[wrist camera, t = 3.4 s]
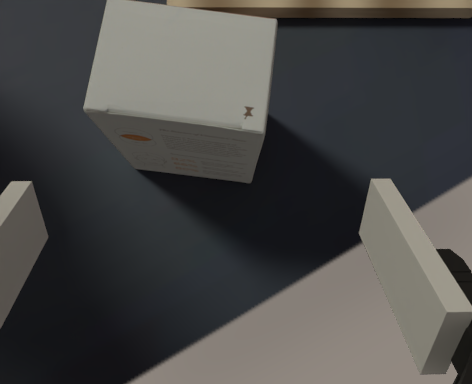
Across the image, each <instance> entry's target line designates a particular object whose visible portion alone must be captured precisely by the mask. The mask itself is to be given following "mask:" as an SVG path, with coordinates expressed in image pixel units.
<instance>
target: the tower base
mask: <svg viewBox="0 0 472 384" xmlns="http://www.w3.org/2000/svg"><path fill="white" fill-rule="evenodd" d="M167 5H170V6H178V7H187V8H194V9H202V10H209V11H218V12H226V13H234V14H242V15H250V16H258V17H265V18H471V17H472V0H167Z"/></svg>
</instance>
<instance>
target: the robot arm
mask: <svg viewBox="0 0 472 384" xmlns="http://www.w3.org/2000/svg"><path fill="white" fill-rule="evenodd" d="M359 235H360V237H361V240H362V242H363V244H364V246H365V249H366V251H367V253H368V256H369V258H370V260H371V262H372V265H373V267H374V269H375V272H376V274H377V276H378V279H379V281H380V283H381V285H382V288H383V290H384V292H385V295H386V297H387V299H388V301H389V304H390V306H391V308H392V311H393V313H394V315H395V317H396V320H397V322H398V324H399V327H400V329H401V331H402V333H403V336H404V338H405V341H406V343H407V345H408V348H409V350H410V352H411V354H412V357H413V359H414V361H415V364H416V366H417V368H418V370H419V373H420V374H421V375H424V374H446V372H447V370H448V368H449V366H450V364H451V361H452V363H453V365H454V367H455V369H456V371H457V373H458V375H457V377H456V379H455V381H454V383H453V384H472V273H471V270H470V269H469V267H468V266H467V265H466V263H465V262H464V260H463V259H462V258H461V257H459V256H458V255H457V254H455V253H454V252H453V251H451V250H450V249H435V248H434V246H433V245H432V243H431V242H430V240H429V239H428V237H427V235H426V234H425V232H424V231H423V229H422V227H421V226H420V224H419V223H418V221H417V220H416V218H415V216H414V215H413V213H412V212H411V210H410V209H409V207H408V206H407V204H406V202H405V201H404V199H403V198H402V196H401V195H400V193H399V192H398V190H397V188H396V187H395V185H394V184H393V182H392V181H391V179H371V182H370V186H369V190H368V195H367V199H366V204H365V208H364V213H363V217H362V222H361V226H360V231H359ZM47 239H48V234H47V230H46V227H45V224H44V220H43V217H42V214H41V210H40V207H39V204H38V200H37V197H36V194H35V190H34V187H33V184H32V181H11V182H10V184H9V185H8V186H7V188H6V189H5V190H4V192H3V193H2V194H1V195H0V329H1V327H2V325H3V323H4V321H5V319H6V317H7V316H8V314H9V312H10V310H11V308H12V306H13V304H14V302H15V300H16V298H17V296H18V294H19V293H20V291H21V289H22V287H23V285H24V283H25V281H26V279H27V277H28V275H29V273H30V271H31V270H32V268H33V266H34V264H35V262H36V260H37V258H38V256H39V254H40V252H41V250H42V248H43V247H44V245H45V243H46V241H47Z"/></svg>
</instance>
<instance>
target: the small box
mask: <svg viewBox="0 0 472 384" xmlns="http://www.w3.org/2000/svg"><path fill="white" fill-rule="evenodd" d="M277 25H278V22H277V19H274V18H265V17H258V16H250V15H242V14H234V13H226V12H218V11H209V10H202V9H194V8H187V7H178V6H170V5H163V4H155V3H147V2H139V1H132V0H107V3H106V7H105V12H104V16H103V21H102V25H101V30H100V34H99V39H98V43H97V48H96V52H95V57H94V62H93V66H92V71H91V75H90V80H89V84H88V89H87V94H86V99H85V103H84V107H83V109H84V111H85V113H86V114H87V115H88V116H89V117H90V118H91V119H92V121H93V122H94V123H95V124H96V125H97V126H98V128H99V129H100V130H101V131H102V132H103V133H104V135H105V136H106V137H107V138H108V139H109V140H110V141H111V142H112V144H113V145H114V146H115V147H116V148H117V149H118V150H119V152H120V153H121V154H122V155H123V156H124V157H125V158H126V159H127V161H128V162H129V163H130V164H131V165H132V166H133V168H135V169H141V170H149V171H157V172H165V173H173V174H181V175H189V176H197V177H205V178H212V179H221V180H229V181H236V182H244V183H251V182H252V179H253V175H254V172H255V168H256V164H257V161H258V158H259V154H260V151H261V148H262V144H263V141H264V137H265V132H266V124H267V116H268V107H269V99H270V91H271V82H272V73H273V63H274V54H275V44H276V35H277Z"/></svg>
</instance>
